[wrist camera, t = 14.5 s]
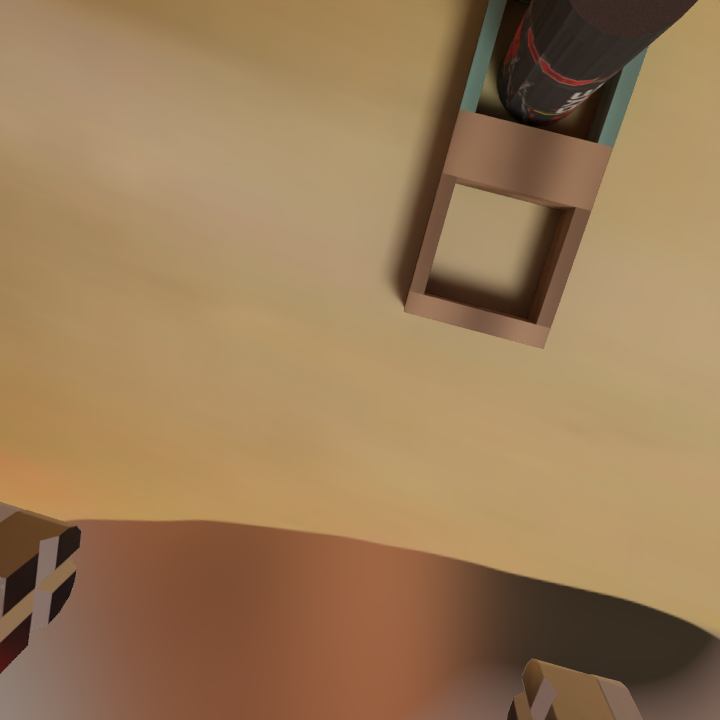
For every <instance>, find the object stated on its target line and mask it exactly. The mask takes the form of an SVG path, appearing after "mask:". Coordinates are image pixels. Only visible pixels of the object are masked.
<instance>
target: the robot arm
mask: <svg viewBox="0 0 720 720" xmlns="http://www.w3.org/2000/svg"><path fill="white" fill-rule="evenodd" d="M80 540H81V530H80V529H79V528H78V526H76V525H73V524H70V523H67V522H63V521H60V520H57V519H54V518H51V517H48V516H45V515H41V514H38V513H35V512H32V511H29V510H24V509H21V508H18V507H15V506H12V505H8V504H5V503H2V502H0V674H1V673H2V672H3V671H4V670H5V669H6V668H7V667H8V666H9V665H10V664H11V662H12V661H13V660H14V659H15V658H16V657H17V656H18V655H19V654H20V653H21V652H22V651H23V650H24V649H25V648H26V647H27V646H28V642H29V634H30V632H32V631H34V630H37V629H40V628H42V627H45V626H47V625H48V624H49V623H50V622H51V621H52V620H53V619H54V618H55V617H56V616H57V615H58V613H60V611H61V609H62V608H63V606H64V604H65V603H66V601H67V600H68V598H69V596H70V594H71V591H72V588H73V585H74V583H75V577H76V571H77V569H76V567H75V565H74V563H73V561H72V559H71V557H70V556H71V555H72V554H73V553H74V552H75V551H77V550H78V548H80ZM522 680H523V684H524V688H525V691H524V692H522V693H521V694H519V695H517V696H516V697H514V698H513V700H512V703H511V706H510V709H509V712H508V715H507V720H643V719H642V717H641V715H640V713H639V711H638V709H637V707H636V705H635V703H634V701H633V699H632V697H631V695H630V693H629V691H628V689H627V688H626V687H625V686H624V685H623V684H622V683H621V682H619V681H615V680H611V679H607V678H603V677H599V676H596V675H592V674H591V675H588V674H585V673H581V672H578V671H574V670H571V669H567V668H564V667H560V666H557V665H553V664H550V663H546V662H542V661H539V660H536V659H532V660H531V661H530V662H529V663H528V664H527V665H526V668H525V670H524V673H523V675H522Z"/></svg>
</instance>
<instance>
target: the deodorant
mask: <svg viewBox="0 0 720 720" xmlns="http://www.w3.org/2000/svg"><path fill="white" fill-rule="evenodd" d="M697 1H698V0H532V1H531V3H530V5H529V7H528V9H527V11H526V13H525V15H524V17H523V19H522V22H521V24H520V26H519V28H518V30H517V32H516V34H515V36H514V38H513V40H512V42H511V44H510V46H509V48H508V50H507V53H506V55H505V57H504V59H503V61H502V63H501V66H500V70H499V73H498V92H499V97H500V100H501V102H502V104H503V106H504V108H505V110H506V111H507V112H508V113H509V114H510V115H511V116H512V117H513V118H514V119H516V120H518V121H519V122H521V123H523V124H527V125H531V126H546V125H550V124H553V123H556V122H558V121H560V120H561V119H563V118H564V117H566V116H568V115H569V114H570V113H571V112H572V111H573V110H574V109H576V108H577V107H578V106H579V105H580V104H581V103H583V102H584V101H585V100H586V99H587V98H588V97H590V96H591V95H592V94H593V93H594V92H595V91H596V90H598V89H599V88H600V87H601V86H602V85H603V84H605V83H606V82H607V81H608V80H609V79H610V78H612V77H613V76H614V75H615V74H616V73H617V72H619V71H620V70H621V69H622V68H623V67H624V66H625V65H627V64H628V63H629V62H630V61H631V60H632V59H634V58H635V57H636V56H637V55H638V54H639V53H641V52H642V51H643V50H644V49H645V48H646V47H647V46H649V45H650V44H651V43H652V42H653V41H654V40H656V39H657V38H658V37H659V36H660V35H661V34H663V33H664V32H665V31H666V30H667V29H668V28H669V27H671V26H672V25H673V24H674V23H675V22H676V21H678V20H679V19H680V18H681V17H682V16H683V15H684V14H685V13H686V12H687V11H688V10H689V9H690V8H691V7H692V6H693V5H694V4H695V3H696V2H697Z"/></svg>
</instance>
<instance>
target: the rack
mask: <svg viewBox="0 0 720 720" xmlns="http://www.w3.org/2000/svg"><path fill="white" fill-rule="evenodd" d="M517 1H521V2H525V3H529V4H530V3H531V1H532V0H517ZM506 2H507V0H489V2H488V6H487V10H486V13H485V17H484V20H483V24H482V28H481V31H480V35H479V39H478V42H477V46H476V49H475V53H474V57H473V60H472V64H471V68H470V71H469V75H468V78H467V82H466V86H465V89H464V93H463V97H462V100H461V104H460V107H459V111H458V115H457V118H456V122H455V126H454V129H453V133H452V136H451V140H450V144H449V147H448V151H447V155H446V158H445V162H444V166H443V169H442V173H441V176H440V180H439V184H438V187H437V191H436V195H435V198H434V202H433V205H432V209H431V213H430V216H429V220H428V224H427V227H426V231H425V234H424V238H423V242H422V245H421V249H420V253H419V256H418V260H417V263H416V267H415V271H414V274H413V278H412V282H411V285H410V289H409V292H408V296H407V300H406V303H405V307H404V312H406V313H410V314H414V315H418V316H421V317H425V318H429V319H433V320H436V321H440V322H444V323H448V324H451V325H455V326H459V327H463V328H466V329H470V330H474V331H478V332H481V333H485V334H489V335H493V336H496V337H500V338H504V339H508V340H511V341H515V342H519V343H523V344H526V345H530V346H534V347H538V348H541V349H544V346H545V343H546V340H547V337H548V334H549V331H550V328H551V326H552V323H553V320H554V317H555V314H556V311H557V308H558V305H559V302H560V300H561V297H562V294H563V291H564V288H565V285H566V282H567V279H568V276H569V274H570V271H571V268H572V265H573V262H574V259H575V256H576V253H577V251H578V248H579V245H580V242H581V239H582V236H583V233H584V230H585V227H586V225H587V222H588V219H589V216H590V213H591V210H592V207H593V204H594V201H595V199H596V196H597V193H598V190H599V187H600V184H601V181H602V178H603V176H604V173H605V170H606V167H607V164H608V161H609V158H610V155H611V152H612V150H613V147H614V144H615V141H616V138H617V135H618V132H619V129H620V126H621V124H622V121H623V118H624V115H625V112H626V109H627V106H628V103H629V101H630V98H631V95H632V92H633V89H634V86H635V83H636V80H637V77H638V75H639V72H640V69H641V66H642V63H643V60H644V57H645V54H646V52H647V49H648V46H647V47H646V48H645V49H644V50H643V51H642V52H641V53H639V54H638V55H637V56H636V57H635V58H634V59H632V60H631V61H630V62H629V63H628V64H627V65H625V66H624V67H623V68H622V69H621V70H620V71H619V72H617V73H616V74H615V75H614V76H613V77H612V78H610V79H609V80H608V81H607V82H606V83H605V86H604V89H603V92H602V95H601V98H600V101H599V104H598V107H597V110H596V113H595V116H594V118H593V121H592V124H591V127H590V130H589V133H588V136H587V139H586V140H582V139H578V138H574V137H570V136H566V135H562V134H558V133H554V132H550V131H546V130H542V129H538V128H534V127H530V126H526V125H522V124H518V123H514V122H510V121H506V120H502V119H498V118H494V117H490V116H486V115H482V114H478V113H475V112H476V108H477V104H478V101H479V97H480V94H481V90H482V87H483V83H484V80H485V76H486V73H487V69H488V66H489V62H490V59H491V55H492V51H493V48H494V44H495V41H496V37H497V34H498V30H499V27H500V23H501V20H502V16H503V13H504V9H505V6H506ZM455 183H456V184H460V185H464V186H468V187H472V188H476V189H480V190H484V191H488V192H492V193H495V194H499V195H503V196H507V197H511V198H515V199H519V200H523V201H527V202H531V203H535V204H539V205H542V206H546V207H550V208H554V209H558V210H562V214H561V217H560V220H559V223H558V226H557V229H556V232H555V235H554V238H553V241H552V244H551V247H550V250H549V253H548V256H547V259H546V262H545V265H544V268H543V271H542V274H541V277H540V280H539V283H538V286H537V289H536V292H535V295H534V298H533V301H532V304H531V307H530V310H529V313H528V316H527V319H525V318H521V317H518V316H514V315H510V314H506V313H502V312H499V311H495V310H491V309H487V308H483V307H480V306H476V305H472V304H468V303H465V302H461V301H457V300H453V299H449V298H446V297H442V296H438V295H434V294H431V293H427V292H425V288H426V285H427V281H428V278H429V274H430V271H431V267H432V263H433V260H434V256H435V253H436V249H437V246H438V242H439V239H440V235H441V232H442V228H443V225H444V221H445V218H446V214H447V210H448V207H449V203H450V200H451V196H452V193H453V189H454V186H455Z"/></svg>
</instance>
